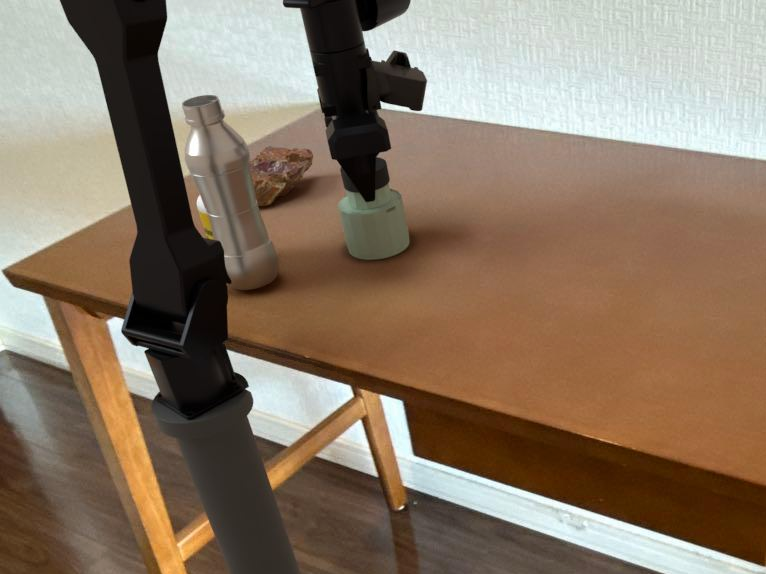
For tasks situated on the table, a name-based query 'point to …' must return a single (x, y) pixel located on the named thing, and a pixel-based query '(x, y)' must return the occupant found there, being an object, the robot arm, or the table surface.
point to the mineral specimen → (278, 172)
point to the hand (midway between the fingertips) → (367, 192)
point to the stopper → (381, 176)
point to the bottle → (374, 224)
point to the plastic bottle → (228, 193)
